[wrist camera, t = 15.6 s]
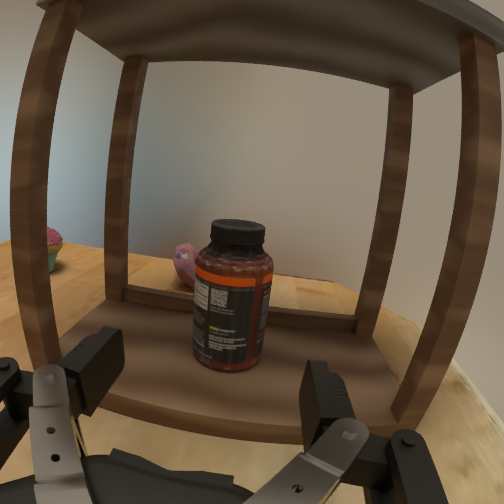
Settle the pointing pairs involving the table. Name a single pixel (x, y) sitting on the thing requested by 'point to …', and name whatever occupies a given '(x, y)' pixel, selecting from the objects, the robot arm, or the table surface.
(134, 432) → the table surface
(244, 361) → the supplement bottle
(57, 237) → the cupcake
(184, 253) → the video game controller
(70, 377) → the robot arm
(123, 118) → the under-counter shelf
